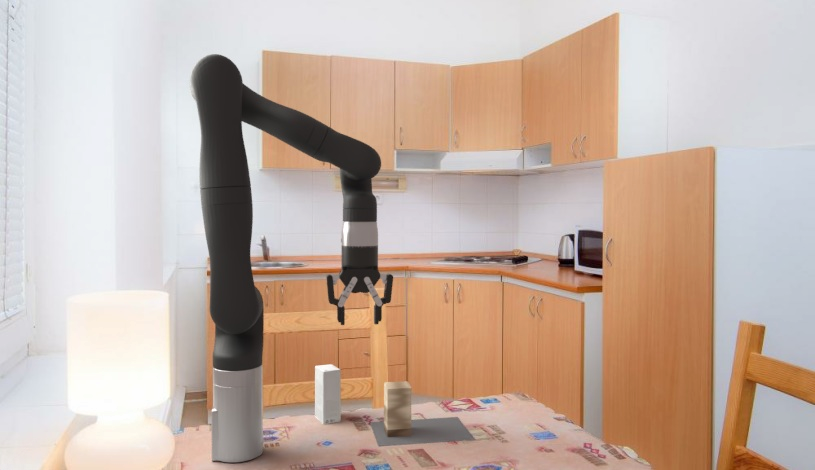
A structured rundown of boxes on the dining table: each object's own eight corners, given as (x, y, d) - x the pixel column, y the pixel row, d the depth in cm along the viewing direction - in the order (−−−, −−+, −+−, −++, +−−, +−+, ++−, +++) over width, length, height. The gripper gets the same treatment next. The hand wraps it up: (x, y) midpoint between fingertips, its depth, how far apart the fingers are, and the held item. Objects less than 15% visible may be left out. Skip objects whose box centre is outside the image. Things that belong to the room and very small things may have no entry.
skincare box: (341, 423, 135) (341, 369, 135) (323, 426, 133) (323, 371, 133) (332, 415, 140) (331, 363, 140) (314, 417, 139) (314, 365, 138)
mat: (378, 448, 121) (378, 446, 121) (369, 423, 135) (369, 422, 135) (475, 441, 124) (475, 439, 124) (457, 418, 138) (457, 416, 138)
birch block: (387, 437, 126) (387, 389, 125) (383, 428, 131) (384, 382, 130) (411, 435, 127) (411, 387, 126) (406, 427, 131) (407, 381, 131)
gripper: (325, 244, 121) (325, 328, 121) (397, 244, 123) (396, 326, 124) (323, 242, 128) (323, 322, 129) (391, 242, 131) (391, 320, 131)
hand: (359, 323), depth 126 cm, fingers open, 6 cm apart
